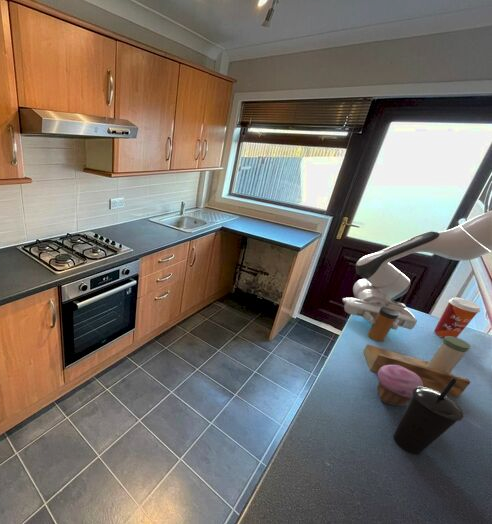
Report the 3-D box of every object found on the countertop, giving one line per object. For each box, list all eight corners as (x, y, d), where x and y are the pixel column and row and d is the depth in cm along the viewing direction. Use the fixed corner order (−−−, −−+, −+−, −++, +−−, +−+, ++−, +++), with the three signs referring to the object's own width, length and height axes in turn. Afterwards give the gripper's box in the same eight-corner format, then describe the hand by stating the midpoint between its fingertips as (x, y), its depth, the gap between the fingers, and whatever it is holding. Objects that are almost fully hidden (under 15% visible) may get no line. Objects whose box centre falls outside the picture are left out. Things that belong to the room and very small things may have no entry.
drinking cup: (387, 420, 68) (429, 359, 59) (429, 444, 63) (481, 381, 55) (382, 442, 63) (427, 378, 54) (428, 469, 58) (485, 404, 50)
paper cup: (440, 340, 98) (463, 307, 92) (424, 326, 105) (444, 295, 99) (466, 343, 97) (490, 310, 91) (448, 329, 104) (469, 298, 98)
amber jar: (382, 335, 98) (396, 309, 94) (386, 343, 95) (401, 317, 90) (365, 331, 100) (379, 305, 95) (369, 338, 96) (383, 312, 92)
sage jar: (443, 368, 81) (464, 339, 76) (451, 380, 77) (474, 350, 72) (422, 362, 83) (442, 333, 78) (429, 374, 79) (450, 344, 74)
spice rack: (442, 374, 83) (453, 359, 81) (458, 397, 76) (470, 382, 73) (363, 351, 90) (370, 336, 88) (370, 370, 83) (378, 355, 80)
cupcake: (365, 380, 79) (380, 353, 75) (403, 393, 76) (421, 366, 72) (372, 405, 72) (390, 377, 68) (415, 420, 69) (436, 391, 64)
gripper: (344, 290, 108) (351, 308, 96) (410, 305, 101) (426, 326, 89) (338, 303, 111) (344, 322, 99) (402, 319, 103) (416, 342, 92)
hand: (384, 324), depth 94 cm, fingers closed on amber jar, 4 cm apart
